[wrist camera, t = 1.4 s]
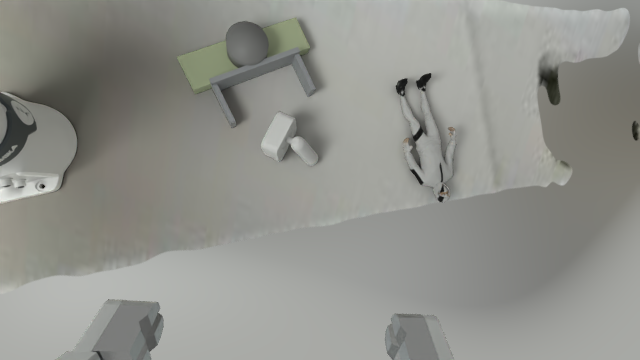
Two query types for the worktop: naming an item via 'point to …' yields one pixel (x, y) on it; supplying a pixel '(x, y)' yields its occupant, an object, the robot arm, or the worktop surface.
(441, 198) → the figurine
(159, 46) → the worktop surface
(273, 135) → the wall hook
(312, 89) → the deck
